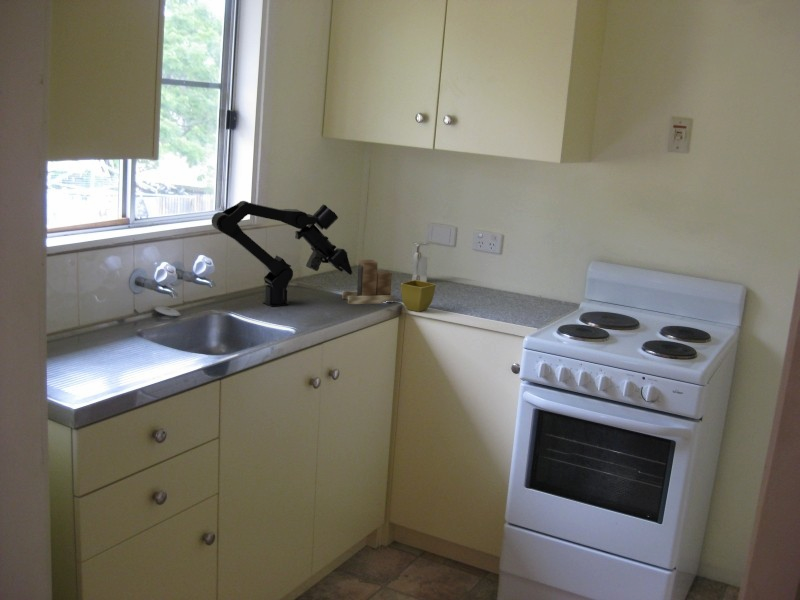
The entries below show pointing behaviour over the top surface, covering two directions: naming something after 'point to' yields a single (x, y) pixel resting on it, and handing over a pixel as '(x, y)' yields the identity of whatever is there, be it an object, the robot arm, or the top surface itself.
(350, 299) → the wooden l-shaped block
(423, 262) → the soap dispenser bottle
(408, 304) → the flower pot
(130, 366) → the top surface
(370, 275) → the finger block
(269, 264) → the robot arm
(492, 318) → the top surface
